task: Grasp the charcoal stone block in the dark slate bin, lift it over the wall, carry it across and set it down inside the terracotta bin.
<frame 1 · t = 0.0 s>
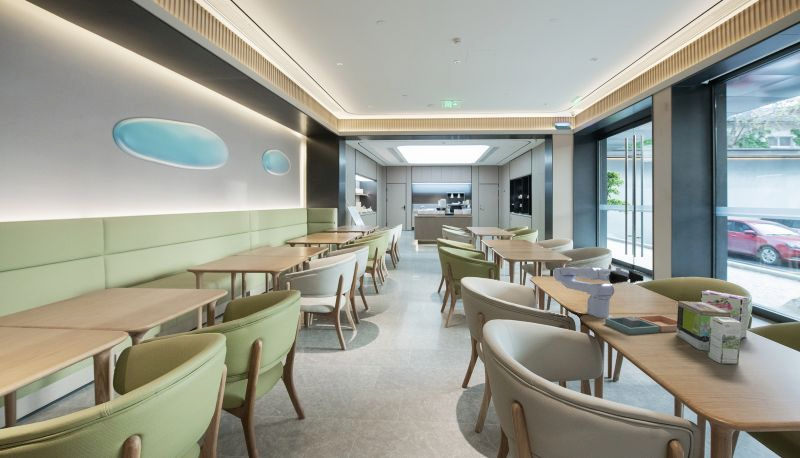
hand: (634, 278, 152), 22 cm above the table, tool horizontal, fingers open, 7 cm apart
slate bin: (630, 329, 153), on the table
syrup box: (722, 361, 122), on the table
candy box: (721, 333, 148), on the table
tea box: (701, 344, 137), on the table
stone block: (631, 327, 153), point 1 cm above the table, touching slate bin
terracotta bin: (660, 327, 156), on the table
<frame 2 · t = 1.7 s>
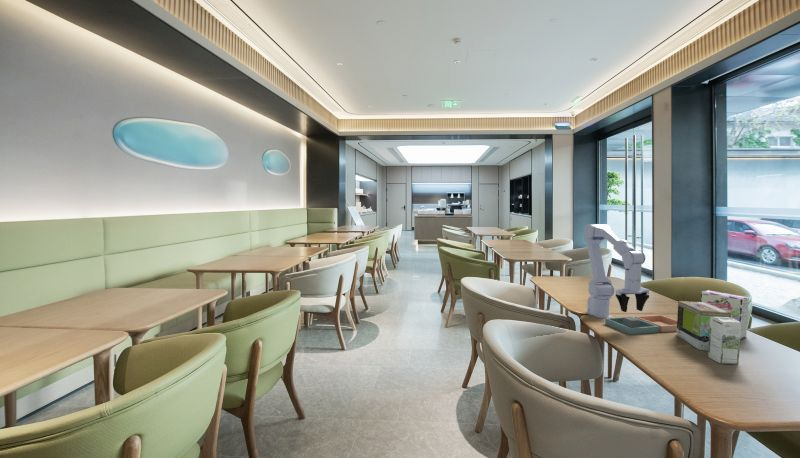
hand: (631, 310, 153), 8 cm above the table, tool pointing down, fingers open, 7 cm apart
nothing on the table moved.
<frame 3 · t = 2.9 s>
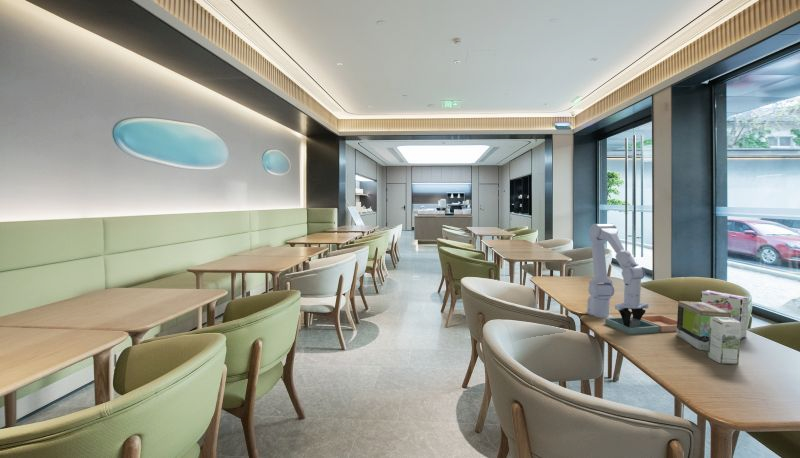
hand: (631, 325, 153), 2 cm above the table, tool pointing down, fingers closed on stone block, 4 cm apart
stone block: (631, 327, 153), point 1 cm above the table, touching gripper, slate bin
everything else where it was.
when the fingers open (3 cm above the table, at t = 6.8 s): stone block stays where it is, resting on terracotta bin.
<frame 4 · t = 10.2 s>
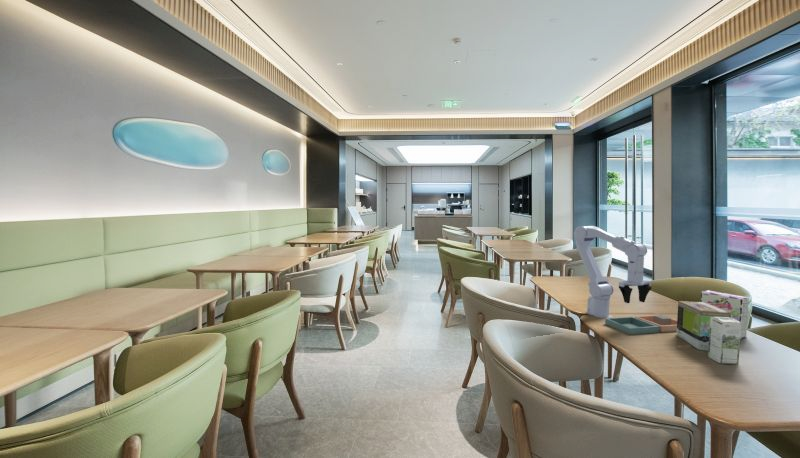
hand: (634, 302, 157), 10 cm above the table, tool pointing down, fingers open, 7 cm apart
stone block: (661, 326, 155), point 1 cm above the table, touching terracotta bin
everything else where it was.
at the end: stone block inside the target area on the terracotta bin (0.4 cm from its centre), point 0.6 cm above the terracotta bin's base; the gripper is holding nothing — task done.
